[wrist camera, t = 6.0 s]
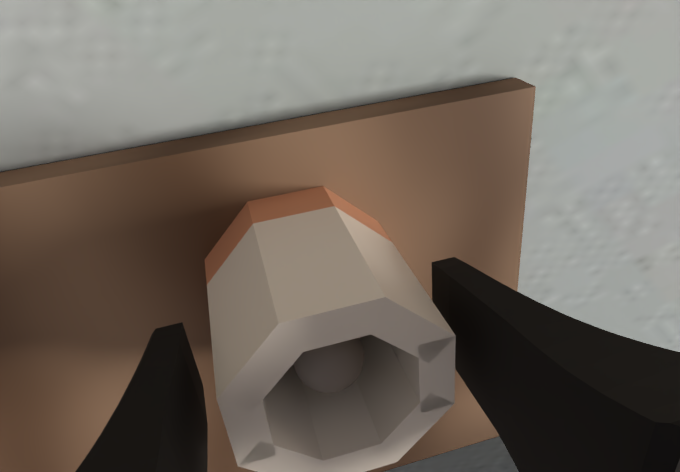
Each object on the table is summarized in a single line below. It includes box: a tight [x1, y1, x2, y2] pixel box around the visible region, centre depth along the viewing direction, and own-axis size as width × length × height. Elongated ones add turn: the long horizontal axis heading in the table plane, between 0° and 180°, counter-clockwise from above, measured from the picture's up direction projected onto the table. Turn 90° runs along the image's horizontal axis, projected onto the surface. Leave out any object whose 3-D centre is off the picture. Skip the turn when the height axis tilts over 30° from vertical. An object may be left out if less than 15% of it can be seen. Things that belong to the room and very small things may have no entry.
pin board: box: [0, 78, 536, 472], centre depth 15 cm, size 20×14×5 cm
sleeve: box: [205, 186, 456, 472], centre depth 13 cm, size 5×5×5 cm
